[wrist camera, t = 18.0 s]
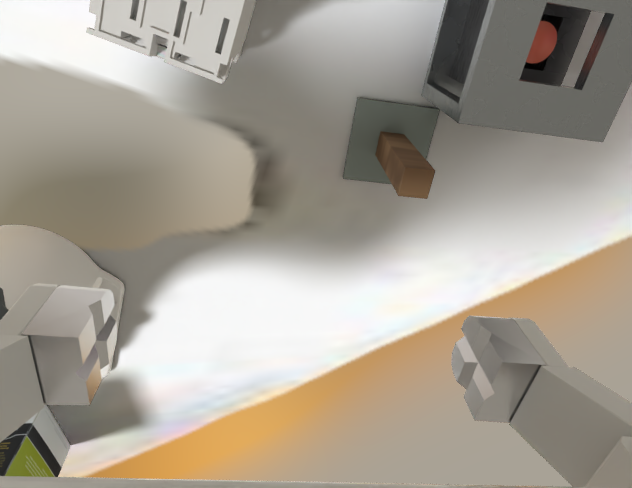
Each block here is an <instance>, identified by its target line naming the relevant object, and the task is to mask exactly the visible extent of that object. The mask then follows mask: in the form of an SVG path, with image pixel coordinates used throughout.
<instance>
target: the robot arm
mask: <svg viewBox="0 0 632 488" xmlns="http://www.w3.org/2000/svg"><path fill="white" fill-rule="evenodd" d="M124 291H125V287H124V284H123V283H122V282H121V281H120V280H119V279H118V278H116V277H114V276H113V275H111V274H109V273H108V272H106V271H104V270H102V269H101V268H99V267H98V266H97V265H96V264H95V263H94V262H93V260H92V259H91V258H90V257H89V256H88V255H87V254H86V253H85V252H84V251H83V250H82V249H81V248H79V247H78V246H77V245H75V244H74V243H73V242H71V241H69V240H68V239H66V238H64V237H62V236H60V235H58V234H56V233H54V232H51V231H49V230H46V229H42V228H38V227H34V226H29V225H17V224H16V225H13V224H12V225H2V226H0V442H1V441H3V440H4V439H5V438H7V437H8V436H9V435H10V434H12V433H13V432H14V431H15V430H17V429H18V428H19V427H20V426H22V425H23V424H24V423H25V422H27V421H28V420H29V419H30V418H32V417H33V416H34V415H35V414H37V413H38V412H39V411H40V410H42V409H43V408H44V407H45V406H44V405H90V404H91V402H92V399H93V397H94V395H95V393H96V391H97V389H98V387H99V385H100V382H101V380H102V378H104V377H106V376H107V375H108V374H109V372H110V371H111V368H112V362H113V356H114V350H115V346H116V341H117V333H118V327H119V321H120V315H121V309H122V303H123V297H124ZM461 329H462V331H463V333H464V337H463V338H461V339H460V340H459V341H457V342H456V343H455V346H454V349H453V352H452V369H453V374H454V376H455V378H456V381H457V382H458V383H459V384H460V385H462V386H463V387H464V388H465V389H467V390H466V392H465V395H464V398H465V401H466V403H467V405H468V407H469V409H470V411H471V414H472V416H473V418H474V420H475V421H489V422H504V423H510V424H509V425H510V426H511V427H512V428H513V429H514V430H516V432H517V433H519V435H521V437H523V439H525V440H526V441H527V442H528V443H529V444H530V445H531V446H532V447H533V448H534V449H535V450H536V451H537V452H538V453H539V454H540V455H541V456H542V457H543V458H544V459H545V460H546V461H547V462H549V464H550V465H551V466H552V467H553V468H554V469H555V470H556V471H557V472H558V473H559V474H560V475H562V477H563V478H565V479H566V480H567V481H568V482H569V483H570V484H571V485H572V486H573V487H553V486H501V485H449V484H445V485H444V484H396V483H344V482H343V483H342V482H341V483H340V482H291V481H289V482H288V481H238V480H237V481H236V480H185V479H183V480H182V479H132V478H130V479H129V478H79V477H24V476H0V488H632V403H631V402H630V401H628V400H627V399H625V398H623V397H622V396H620V395H619V394H617V393H615V392H614V391H612V390H611V389H609V388H607V387H606V386H604V385H603V384H601V383H599V382H598V381H596V380H594V379H593V378H591V377H590V376H588V375H587V374H585V373H583V372H581V371H580V370H579V369H577V368H575V367H569V366H568V365H567V364H566V362H565V361H564V360H563V359H562V357H561V356H560V355H559V353H558V352H557V351H556V349H555V348H554V347H553V345H552V344H551V343H550V342H549V340H548V339H547V338H546V337H545V335H544V334H543V332H542V331H541V330H540V329H539V327H538V326H537V325H536V323H535V322H534V321H532V320H530V319H525V318H495V317H480V316H469V317H467V319H466V320H465V321H464V323H463V326H462V328H461Z"/></svg>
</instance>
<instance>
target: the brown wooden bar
mask: <svg viewBox="0 0 632 488" xmlns="http://www.w3.org/2000/svg"><path fill="white" fill-rule="evenodd" d="M375 155H376V157H377V159H378V161H379V162H380V164H381V166H382V168H383V169H384V171H385V173H386V175H387V176H388V178H389V180H390V182H391V183H392V185H393V187H394V189H395V190H396V192H397V194H398V196H405V197H415V198H425V199H427V198H428V194H429V191H430V187H431V184H432V180H433V177H434V173H435V170H434V169H433V167H432V166H431V165H430V164H429V163H428V162H427V160H426V159H425V158H424V157H423V156H422V155H421V153H420V152H419V151H418V150H417V149H416V148H415V146H414V145H413V144H412V143H411V142H410V141H409V139H408V138H407V137H406V136H405V135H404V134H398V133H390V132H381V131H380V135H379V140H378V145H377V149H376V154H375Z"/></svg>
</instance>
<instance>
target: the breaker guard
mask: <svg viewBox="0 0 632 488" xmlns="http://www.w3.org/2000/svg"><path fill="white" fill-rule="evenodd" d="M591 11H595V12H600V13H605V15H604V17H603V20H602V22H601V24H600V27H599V29H598V32H597V34H596V36H595V39H594V41H593V44H592V46H591V48H590V51H589V53H588V56H587V58H586V60H585V63H584V65H583V68H582V70H581V72H580V75H579V77H578V79H577V82H576V84H575V87H567V86H561V84H562V81H563V79H564V77H565V74H566V72H567V69H568V67H569V64H570V62H571V59H572V57H573V54H574V52H575V49H576V47H577V44H578V42H579V39H580V37H581V34H582V32H583V29H584V27H585V24H586V22H587V19H588V17H589V14H590V12H591ZM540 21H547V22H549V23H551V24H552V25H553V26H554V27H555V29H556V32H557V42H556V45H555V48H554V50H553V51H552V53H551V54H550V55H549V56H548V57H547V58H546V59H544V60H543V61H541V62H538V63H527V62H526V60H527V57H528V54H529V51H530V48H531V46H532V43H533V40H534V37H535V34H536V32H537V29H538V26H539V23H540ZM631 82H632V0H445V4H444V8H443V12H442V16H441V20H440V24H439V28H438V32H437V36H436V40H435V44H434V48H433V52H432V55H431V59H430V63H429V67H428V71H427V75H426V79H425V83H424V87H423V91H422V96H423V97H424V98H426V99H427V100H428V101H430V102H431V103H432V104H434V105H435V106H436V107H438V108H439V109H440V110H442V111H443V112H444V113H446V114H447V115H448V116H450V117H451V118H452V119H454V120H455V121H456V122H458V123H462V124H470V125H477V126H485V127H492V128H500V129H507V130H515V131H522V132H530V133H537V134H545V135H552V136H560V137H567V138H575V139H582V140H590V141H597V142H603V141H604V139H605V137H606V135H607V132H608V130H609V128H610V126H611V124H612V122H613V120H614V118H615V116H616V114H617V111H618V109H619V107H620V105H621V103H622V101H623V99H624V97H625V95H626V93H627V90H628V88H629V86H630V84H631Z"/></svg>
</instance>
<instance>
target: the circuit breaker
mask: <svg viewBox="0 0 632 488" xmlns="http://www.w3.org/2000/svg"><path fill="white" fill-rule="evenodd" d="M256 1H257V0H90V7H89V12H91V13H93V14H96V22H95V29H92V28H87V31H86V33H89V34H92V35H94V36H97V37H100V38H102V39H105V40H107V41H110V42H113V43H115V44H118V45H121V46H123V47H126V48H129V49H131V50H134V51H136V52H139V53H142V54H144V55H147V56H157V57H159V58H162V59H165V60H164V62H165V63H168V64H171V65H173V66H176V67H179V68H181V69H184V70H187V71H189V72H192V73H194V74H197V75H200V76H202V77H205V78H208V79H210V80H213V81H215V82H218V83H221V84H222V83H223V82H225V81H226V79H227V77H228V75H229V72H230V68H231V64H232V62H235V63H237V61H238V59H239V58H240V56H241V54H242V47H243V44H244V41H245V40H246V36H247V33H248V29H249V26H250V22H251V19H252V15H253V12H254V8H255V5H256Z"/></svg>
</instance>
